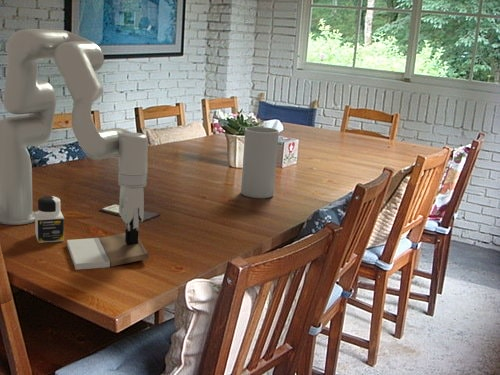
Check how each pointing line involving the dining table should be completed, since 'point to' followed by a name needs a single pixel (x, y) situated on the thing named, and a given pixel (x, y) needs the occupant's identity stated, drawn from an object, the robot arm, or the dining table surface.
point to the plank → (122, 250)
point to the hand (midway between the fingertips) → (131, 243)
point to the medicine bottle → (49, 220)
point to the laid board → (88, 253)
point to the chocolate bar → (115, 211)
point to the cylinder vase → (259, 162)
